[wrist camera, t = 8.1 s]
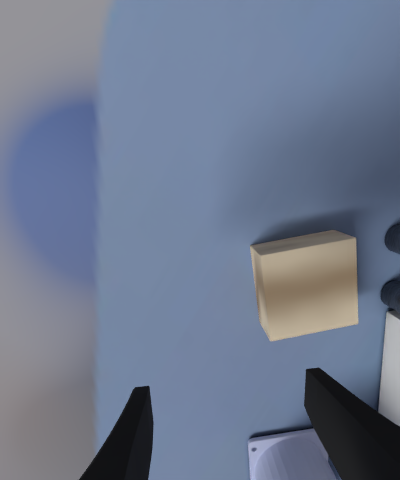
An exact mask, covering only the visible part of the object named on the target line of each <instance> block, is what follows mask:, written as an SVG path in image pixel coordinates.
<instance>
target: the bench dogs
mask: <svg viewBox="0 0 400 480" xmlns="http://www.w3.org/2000/svg"><path fill="white" fill-rule="evenodd" d="M385 245H386V247H387V248H388V249H389V250H390V251H393V252H395V253H398V254H400V224H397V225H395V226H393V227H392V228H390V229H389V231H388V232H387V234H386V236H385ZM381 300H382V302H383V303H384V304H385V305H387V306H389V307H390V308H392V309H393V310H395V311H397V312H398V313H400V281H398V280H395V281H391V282H389V283H387V284H386V285H385V286H384V287H383V289H382V291H381Z"/></svg>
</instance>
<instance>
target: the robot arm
mask: <svg viewBox="0 0 400 480" xmlns="http://www.w3.org/2000/svg"><path fill="white" fill-rule="evenodd" d="M304 406H305V409H306V411H307V414H308V416H309V418H310V421H311V423H312V425H313V429H307V430H300V431H294V432H288V433H281V434H275V435H268V436H262V437H256V438H251V439H249V441H248V452H249V468H250V480H337V479H336V477H335V475H334V473H333V471H332V469H331V467H330V465H329V463H328V455H329V457H330V459H331V461H332V462H333V464H334V466H335V468H336V470H337V471H338V473H339V475H340V477H341V479H342V480H400V426H398V425H397V424H395V423H393V422H392V421H390V420H389V419H387V418H386V417H384V416H383V415H382V414H380V413H379V412H377V411H376V410H374V409H373V408H371V407H370V406H369V405H367V404H366V403H364V402H363V401H362V400H360V399H359V398H358V397H356V396H355V395H354V394H352V393H351V392H350V391H348V390H347V389H346V388H344V387H343V386H342V385H341V384H339V383H338V382H337V381H336V380H334V379H333V378H332V377H330V376H329V375H328V374H327V373H325V372H324V371H323V370H321V369H320V368H312V369H306V382H305V400H304ZM152 444H153V415H152V406H151V397H150V388H149V386H143V387H135V388H134V389H133V391H132V393H131V396H130V398H129V400H128V402H127V404H126V406H125V408H124V410H123V412H122V414H121V415H120V417H119V419H118V421H117V422H116V424H115V426H114V428H113V430H112V431H111V433H110V435H109V436H108V438H107V439H106V441H105V443H104V444H103V446H102V447H101V449H100V450H99V452H98V454H97V455H96V457H95V458H94V459H93V461H92V462H91V464H90V465H89V467H88V468H87V469H86V471H85V472H84V474H83V475H82V476H81V478H80V479H79V480H148V476H149V469H150V462H151V455H152Z"/></svg>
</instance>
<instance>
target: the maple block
mask: <svg viewBox="0 0 400 480" xmlns="http://www.w3.org/2000/svg"><path fill="white" fill-rule="evenodd" d="M250 249H251V257H252V265H253V273H254V281H255V289H256V297H257V305H258V313H259V321H260V323H261V325H262V327H263V329H264V331H265V332H266V334H267V336H268V338H269V340H270V341H276V340H281V339H285V338H290V337H295V336H300V335H305V334H310V333H315V332H320V331H325V330H330V329H335V328H340V327H345V326H350V325H355V324H358V296H357V255H356V238H355V237H352V236H350V235H347V234H344V233H341V232H339V231H336V230H329V231H324V232H319V233H313V234H308V235H303V236H297V237H292V238H287V239H281V240H276V241H271V242H265V243H260V244H255V245H250Z"/></svg>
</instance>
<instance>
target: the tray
mask: <svg viewBox="0 0 400 480" xmlns="http://www.w3.org/2000/svg"><path fill="white" fill-rule="evenodd" d="M378 412H379V413H380V414H382V415H383V416H384V417H386V418H387V419H389V420H390V421H392V422H393V423H395V424H397V425H398V426H400V313H398V312H397V311H395V310H394V311H387V314H386V326H385V337H384V349H383V361H382V373H381V384H380V396H379V408H378Z"/></svg>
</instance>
